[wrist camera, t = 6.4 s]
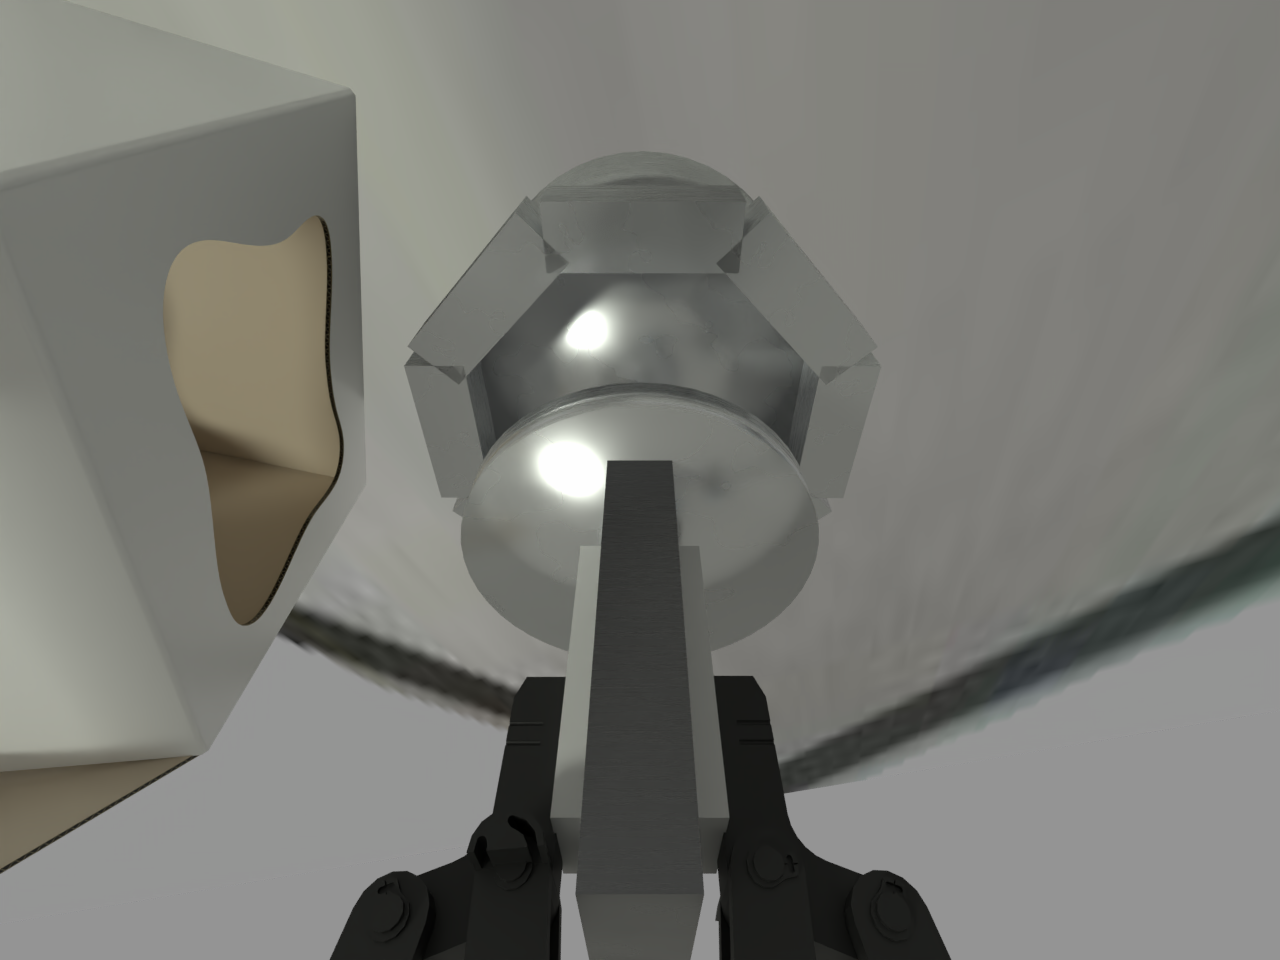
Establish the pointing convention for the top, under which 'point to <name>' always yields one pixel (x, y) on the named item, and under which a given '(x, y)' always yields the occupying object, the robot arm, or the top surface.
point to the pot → (643, 318)
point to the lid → (639, 611)
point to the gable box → (160, 393)
